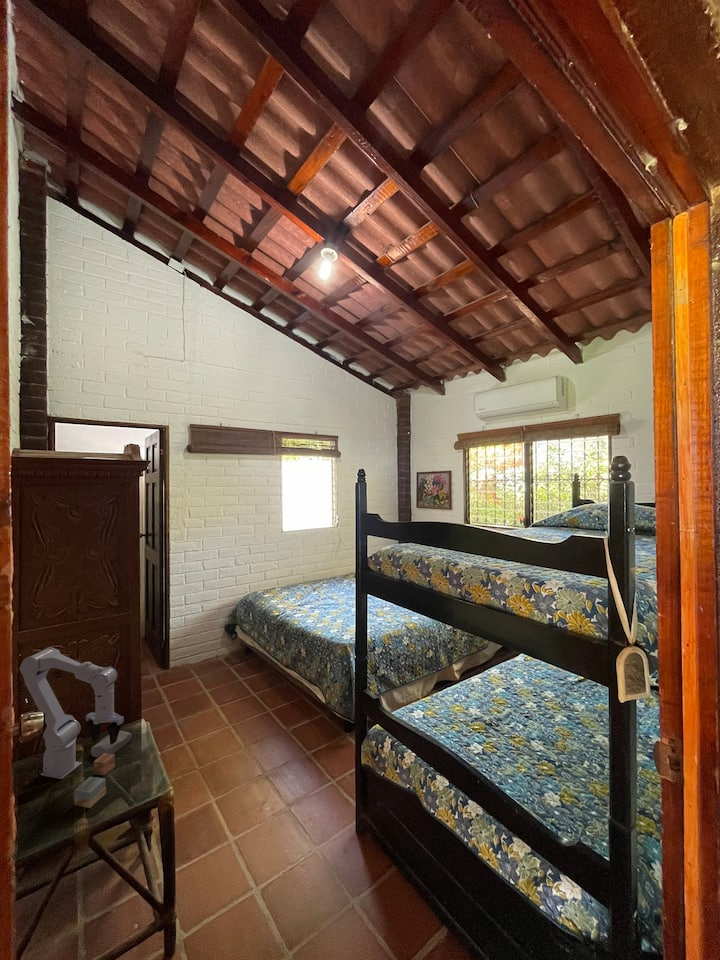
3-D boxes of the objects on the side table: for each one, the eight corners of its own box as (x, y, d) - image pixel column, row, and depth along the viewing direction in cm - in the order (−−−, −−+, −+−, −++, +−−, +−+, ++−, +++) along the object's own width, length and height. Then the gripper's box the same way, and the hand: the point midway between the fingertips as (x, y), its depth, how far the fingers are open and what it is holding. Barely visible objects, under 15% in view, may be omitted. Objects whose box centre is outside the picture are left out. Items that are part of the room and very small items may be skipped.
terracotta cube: (93, 773, 139) (93, 761, 139) (104, 765, 144) (104, 752, 144) (104, 775, 138) (104, 763, 138) (114, 766, 143) (114, 754, 143)
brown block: (74, 806, 125) (74, 798, 125) (91, 791, 131) (91, 784, 131) (90, 809, 124) (90, 801, 124) (105, 794, 130) (106, 786, 130)
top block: (74, 798, 125) (74, 790, 125) (90, 784, 131) (90, 776, 131) (90, 800, 124) (90, 792, 124) (105, 786, 130) (105, 778, 130)
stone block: (88, 761, 148) (109, 759, 146) (86, 748, 149) (108, 745, 147) (113, 742, 160) (134, 740, 158) (112, 730, 160) (132, 728, 159)
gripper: (78, 707, 139) (78, 746, 139) (112, 712, 136) (112, 751, 135) (95, 697, 146) (95, 733, 145) (128, 701, 143) (128, 738, 142)
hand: (104, 741), depth 141 cm, fingers open, 7 cm apart
